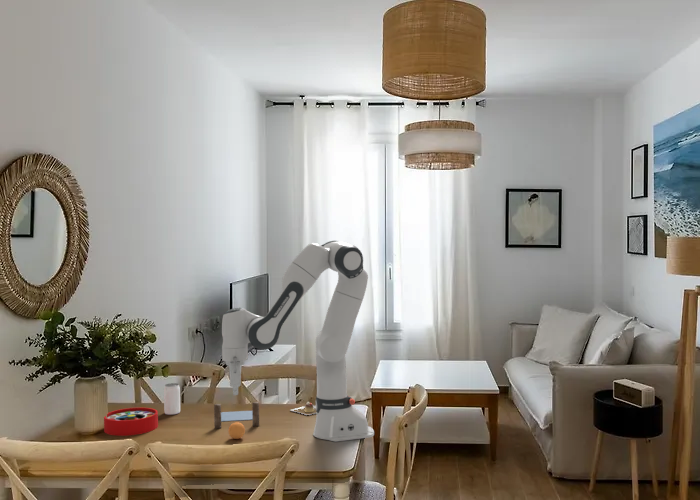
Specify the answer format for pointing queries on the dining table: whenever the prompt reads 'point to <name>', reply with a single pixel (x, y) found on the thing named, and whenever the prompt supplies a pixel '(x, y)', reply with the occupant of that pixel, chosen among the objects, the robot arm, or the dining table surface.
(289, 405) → the dining table surface
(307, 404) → the dessert
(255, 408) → the right post
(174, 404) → the can
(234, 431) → the ball
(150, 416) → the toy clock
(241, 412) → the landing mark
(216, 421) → the left post
